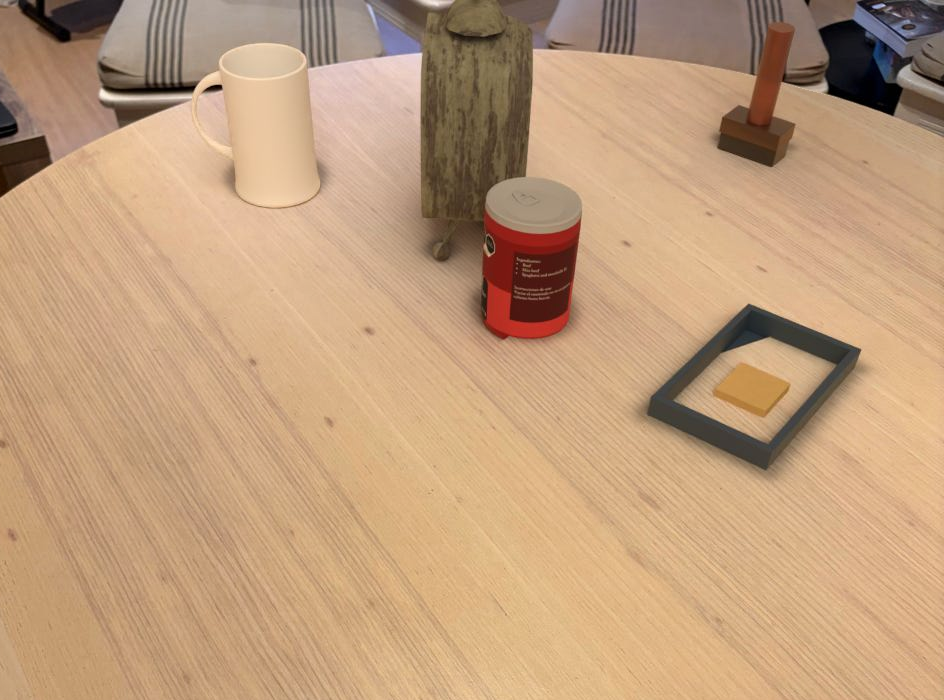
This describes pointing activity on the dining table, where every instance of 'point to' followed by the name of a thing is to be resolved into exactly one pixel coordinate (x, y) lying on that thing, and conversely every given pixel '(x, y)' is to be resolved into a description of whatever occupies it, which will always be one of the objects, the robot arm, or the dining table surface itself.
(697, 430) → the tray
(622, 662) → the dining table surface
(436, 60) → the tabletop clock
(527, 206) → the canned food
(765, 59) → the brush
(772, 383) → the tan square tile
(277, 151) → the mug
